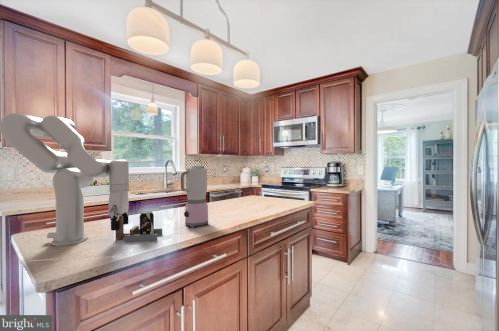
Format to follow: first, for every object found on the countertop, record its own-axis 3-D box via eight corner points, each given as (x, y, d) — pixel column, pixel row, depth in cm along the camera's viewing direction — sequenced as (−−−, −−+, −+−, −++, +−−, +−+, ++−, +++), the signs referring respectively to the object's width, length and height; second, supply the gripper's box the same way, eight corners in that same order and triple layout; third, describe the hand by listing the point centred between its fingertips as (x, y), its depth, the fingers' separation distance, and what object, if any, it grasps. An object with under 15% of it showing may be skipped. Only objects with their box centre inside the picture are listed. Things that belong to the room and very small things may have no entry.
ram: (113, 241, 101) (112, 218, 100) (120, 236, 108) (119, 214, 107) (133, 240, 102) (133, 217, 101) (139, 235, 108) (138, 214, 108)
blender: (200, 220, 138) (199, 165, 137) (213, 224, 129) (212, 165, 129) (175, 226, 126) (174, 166, 126) (187, 230, 118) (187, 166, 117)
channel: (124, 242, 100) (124, 235, 100) (133, 235, 109) (133, 229, 109) (156, 241, 101) (156, 234, 101) (162, 234, 111) (162, 228, 111)
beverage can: (156, 238, 106) (155, 211, 105) (142, 241, 101) (142, 213, 101) (150, 235, 110) (150, 209, 110) (137, 238, 106) (137, 211, 105)
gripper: (118, 186, 112) (119, 222, 112) (100, 190, 95) (101, 233, 95) (135, 186, 113) (136, 221, 113) (120, 190, 96) (120, 232, 96)
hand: (120, 227), depth 104 cm, fingers open, 9 cm apart
